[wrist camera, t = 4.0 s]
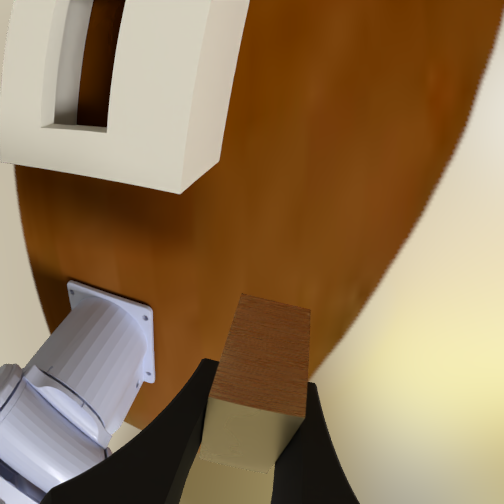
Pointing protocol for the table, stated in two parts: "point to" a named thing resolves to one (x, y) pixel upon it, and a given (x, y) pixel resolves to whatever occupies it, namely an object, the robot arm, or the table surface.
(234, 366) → the wooden brick
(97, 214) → the table surface
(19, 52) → the slot box
